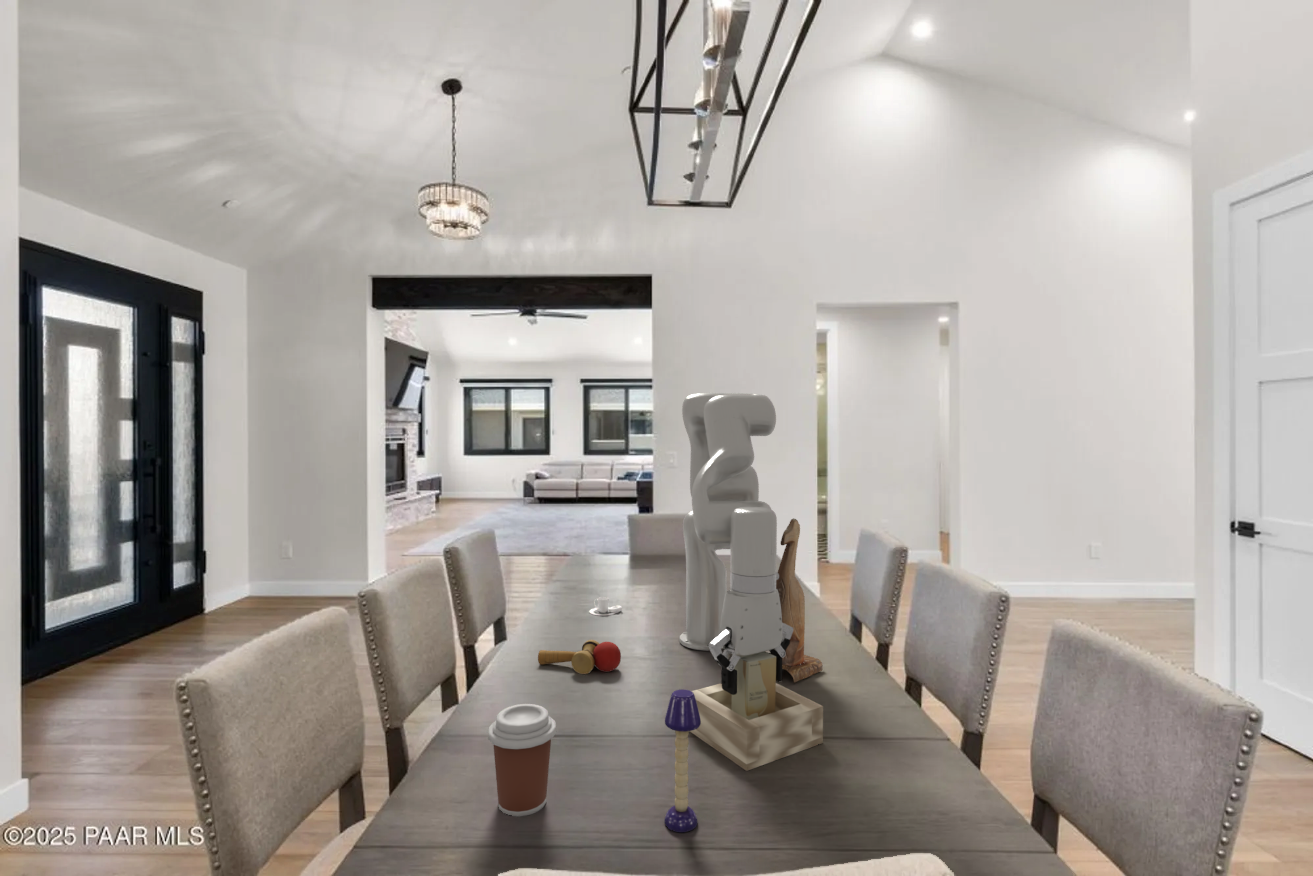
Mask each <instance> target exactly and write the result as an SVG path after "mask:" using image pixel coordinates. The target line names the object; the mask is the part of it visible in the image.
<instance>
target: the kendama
mask: <svg viewBox="0 0 1313 876" xmlns="http://www.w3.org/2000/svg"><path fill="white" fill-rule="evenodd" d="M621 654H622V653H621V650H620V648H619V647H618V645H617V644H615V643H614V642H611V641H603V642H599V641H597V640H595V639H588V640H586V641H585V642H584V643H583V644H582V645H581V650H578V651H570V650H547V649H546V650H544V649H540V650H539V652H538V654H537V661H538V665H541V666H543V665H550V664H560V663H567V662H571V667H572V669H573V670H574V671H575V673H577V674H580V675H581V674H583V675H587V674H589V673H591V672H592V670H593V669H594V667H596V668H597V669H598V670H599V671H601V672H605V673H608V672H612V671H614V670H615V669H617V668H618V667H619V666H620V664H621V661H622V660H621V658H622V655H621Z"/></svg>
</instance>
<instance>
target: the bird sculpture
mask: <svg viewBox="0 0 1313 876" xmlns="http://www.w3.org/2000/svg"><path fill="white" fill-rule="evenodd" d="M800 534H801V525H800V523H799V521H798V520H797V519H796V518H792V519H790V521H789V523H788V525H787V527H786V529H785V530H784V531H783V533H782V536H781V540H780V545H781V546H785V548H784V550H783V553H782V557H781V561H780V564H779V567H778V570H777V573H778V574H779V579H778V580H776V589H777V590H778V593H779V598H780V604H781V614H782V623H784V624H787V625H789V626H791V627H793V633H792V636H791V639H790V644H789V646H788V647H787V649H786V650H785V652H786V655H785V657H783V658H782V670H785V671H786V672H788V673H789V674H790V675H791V677H792V678H793V679H792V680H793V683H797V682H800V681H802V680H803V679H806V678H809V677H812V676H813V675H815V674H817V673H818V674H819V673H820V672H821V671H823V669H824V668H823V662H822V661H821V660H820V659H819V658H816V657H813V656H810V655H806V654H805V652H804V651H805V633H806V632H805V629H806V628H805V624H806V622H805V621H806V620H805V619H806V618H805V617H806V616H805V615H806V603H805V600H806V599H805V594H804V593H805V592H804V590H803V588H802V586H801V583H800V582H799V580H798V578H797V577H796V561H797V554H798V553H797V551H798V546H799V545H798V544H799V538H800V536H801V535H800Z"/></svg>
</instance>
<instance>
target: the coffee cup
mask: <svg viewBox="0 0 1313 876" xmlns="http://www.w3.org/2000/svg"><path fill="white" fill-rule="evenodd" d="M487 731H488V732H487V733H488V734H487V739H488V741H489V742H491V744H492V745H493V756H494V765H495V778H496V779H495V781H496V788H497V789H496V790H497V801H498V806H497V807H499V808H498V809H499V811H500V810H501V811H502V812H503V813H502V812H501V811H500V812H501V813H502V814H504V813H506V814H508V815H507V816H509V815H512V816H511V817H517V818H518V817H526V816H530V815H533V814H535V813H538V812H539V811H540V810H542V809H543V808H544V807H545V805H546V803H547V796H548V795H547V792H548V782H549V781H548V779H549V770H550V769H549V768H550V759H551V758H550V757H551V745H552V739H553V738H554V736H555V734H557V723H556V720H555V719H553V718H552V717H551V716H550V715H549V710H548V709H546V708H545V707H544V706H541V705H540V704H539V705H538V704H534V703H532V704H531V703H522V704H520V703H518V704H515V705H510V706H508V707H505V708H504V709H501V710H500V712H499V713H498V714H496V715H495V721H493V722H492V723H491V724H490V726H489V727H488V730H487ZM506 814H505V815H506Z"/></svg>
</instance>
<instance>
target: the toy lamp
mask: <svg viewBox="0 0 1313 876" xmlns="http://www.w3.org/2000/svg"><path fill="white" fill-rule="evenodd" d="M692 691H693V690H689V689H684V688H683V689H680V688H679V689H676V690H674V691H673V692H671V694H670V699H669V702H668V705H667V709H666V713H665V717H664V725H665V726H666V727H667V728H668V729H670V730H672V731H674V733H675V740H674V745H675V750H674V759H675V762H674V771H675V774H674V784H675V786H674V795H675V798H674V805H672V806H671V807H670V808H669V809H668V810H667V811H666V814H665V815H664V816H665V817H664V825H665V824H666V825H665V827H666V826H667V827H668V828H667V827H666V828H667V829H668V830H670V831H672V830H673V831H672V832H677V833H686V832H689V831H693V830H694V829H695V828H696V827H697V825H698V817H697V814H696V813H695V811H694V809H693V808H691V807H690V806H689V799H688V794H689V787H688V783H689V773H688V770H689V762H688V759H689V749H688V748H689V738H688V736H689V734H690V731H692V730H695V729H697V728H698V727H699V726H700V724H701V720H700V715H699V711H698V706H697V702H696V698H695V695H694V693H693V692H692Z"/></svg>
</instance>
